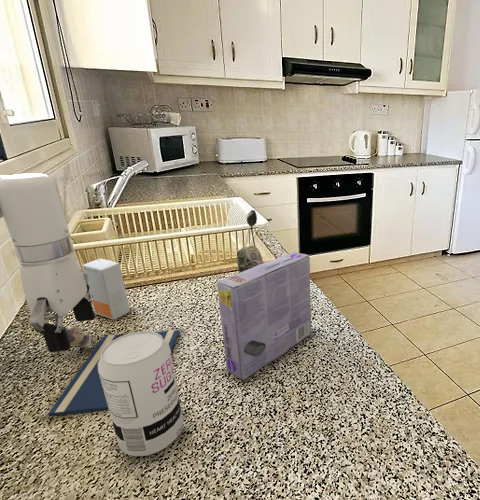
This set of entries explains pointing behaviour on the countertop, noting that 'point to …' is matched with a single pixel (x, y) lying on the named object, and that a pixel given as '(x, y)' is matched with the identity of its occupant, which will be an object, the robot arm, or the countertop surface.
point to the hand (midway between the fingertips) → (74, 334)
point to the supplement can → (141, 392)
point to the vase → (78, 337)
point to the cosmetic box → (107, 288)
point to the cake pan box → (264, 312)
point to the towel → (93, 382)
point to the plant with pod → (249, 249)
